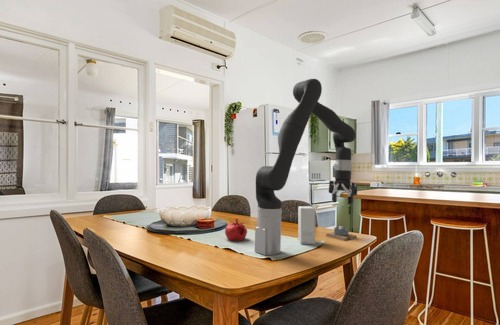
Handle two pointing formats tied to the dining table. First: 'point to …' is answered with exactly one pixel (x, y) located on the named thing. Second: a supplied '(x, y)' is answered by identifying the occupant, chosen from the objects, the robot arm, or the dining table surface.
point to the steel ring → (341, 231)
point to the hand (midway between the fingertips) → (342, 203)
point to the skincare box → (306, 224)
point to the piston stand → (350, 236)
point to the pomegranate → (235, 231)
